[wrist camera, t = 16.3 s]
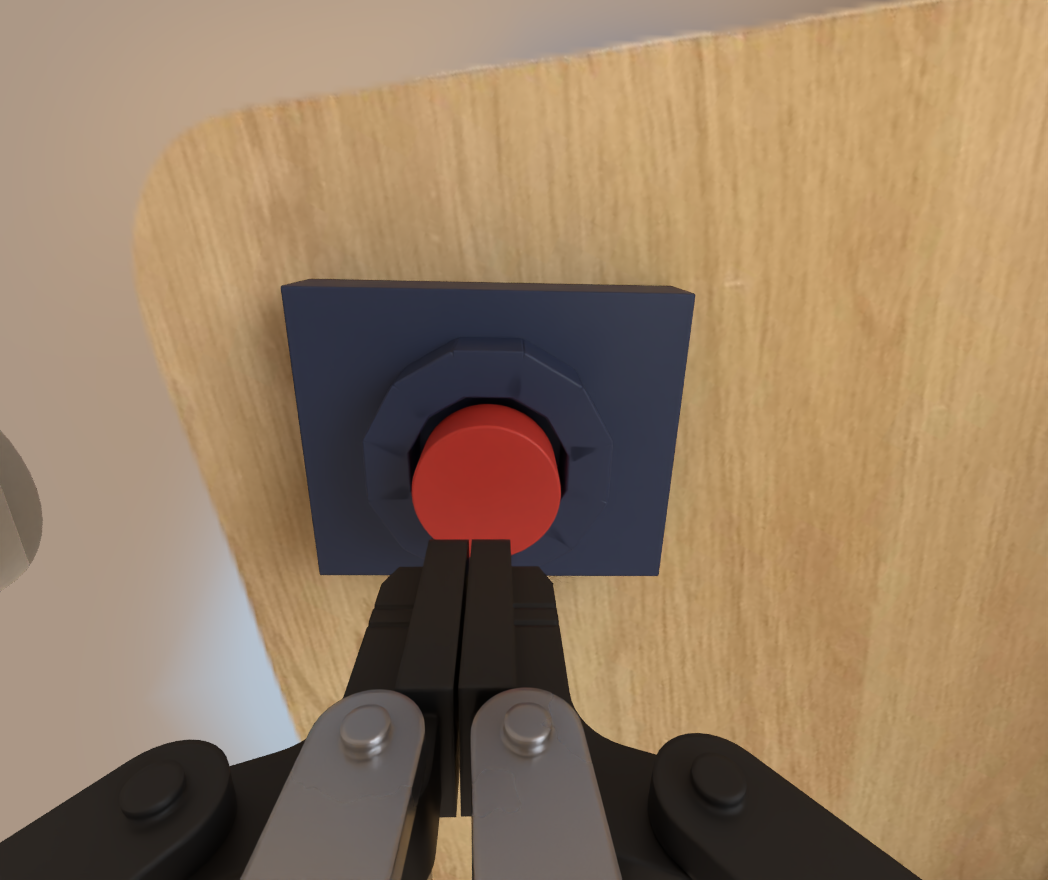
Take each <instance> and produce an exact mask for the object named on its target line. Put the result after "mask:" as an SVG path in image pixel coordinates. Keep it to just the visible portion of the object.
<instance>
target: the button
mask: <svg viewBox="0 0 1048 880" xmlns="http://www.w3.org/2000/svg"><path fill="white" fill-rule="evenodd" d="M560 498H561V486H560V480H559V475H558V470H557V465H556V460H555V455H554V451H553V448H552V445H551V443H550V440H549V438H548V437H547V435H546V434H545V432H544V431H543V429H542V428H541V427H540V426H539V425H538V424H537V423H536V422H535V421H534V420H533V419H531V418H530V417H529V416H527V415H526V414H524V413H522V412H520V411H518V410H516V409H513V408H510V407H507V406H503V405H497V404H478V405H473V406H469V407H465V408H462V409H460V410H458V411H456V412H454V413H452V414H450V415H449V416H447V417H446V418H445V419H443V420H442V421H441V422H440V423H439V424H438V425H437V426H436V427H435V428H434V430H433V431H432V433H431V434H430V436H429V438H428V440H427V442H426V444H425V446H424V449H423V451H422V454H421V456H420V459H419V461H418V464H417V467H416V469H415V472H414V476H413V481H412V501H413V506H414V509H415V512H416V514H417V517H418V519H419V521H420V522H421V524H422V526H423V527H424V529H425V530H426V531H427V532H428V533H429V535H430V536H431V537H432V538H434V539H469V557H470V553H471V542H472V539H510V542H511V555H513V554H516V553H518V552H521V551H523V550H525V549H526V548H528V547H530V546H531V545H533V544H534V543H535V542H537V541H538V540H539V539H540V538H541V537H542V536H543V535H544V534H545V533H546V531H547V530H548V529H549V528H550V526H551V524H552V523H553V521H554V519H555V517H556V515H557V512H558V509H559V505H560Z"/></svg>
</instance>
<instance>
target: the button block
mask: <svg viewBox="0 0 1048 880" xmlns="http://www.w3.org/2000/svg"><path fill="white" fill-rule="evenodd" d="M281 293H282V301H283V308H284V315H285V323H286V330H287V337H288V345H289V352H290V359H291V367H292V374H293V381H294V389H295V396H296V403H297V411H298V418H299V425H300V433H301V440H302V447H303V455H304V462H305V469H306V477H307V484H308V491H309V499H310V506H311V513H312V521H313V528H314V535H315V543H316V550H317V557H318V565H319V572H320V575H391V574H392V573H393V572H394V571H395V570H396V569H397V568H398V567H423V564H424V559H425V555H426V551H427V546H428V542H429V540H430V539H434V538H432V537H431V536H430V535H429V533H428V532H427V531H426V530H425V529H424V527H423V526H422V524H421V522H420V521H419V519H418V517H417V514H416V512H415V509H414V506H413V501H412V481H413V476H414V472H415V469H416V467H417V464H418V461H419V459H420V456H421V454H422V451H423V449H424V446H425V444H426V442H427V440H428V438H429V436H430V434H431V433H432V431H433V430H434V428H435V427H436V426H437V425H438V424H439V423H440V422H441V421H442V420H443V419H445V418H446V417H447V416H449V415H450V414H452V413H454V412H456V411H458V410H460V409H462V408H465V407H469V406H473V405H478V404H497V405H503V406H507V407H510V408H513V409H516V410H518V411H520V412H522V413H524V414H526V415H527V416H529V417H530V418H531V419H533V420H534V421H535V422H536V423H537V424H538V425H539V426H540V427H541V428H542V429H543V431H544V432H545V434H546V435H547V437H548V438H549V440H550V443H551V445H552V448H553V451H554V455H555V460H556V465H557V470H558V475H559V480H560V486H561V498H560V505H559V509H558V512H557V515H556V517H555V519H554V521H553V523H552V524H551V526H550V528H549V529H548V530H547V531H546V533H545V534H544V535H543V536H542V537H541V538H540V539H539V540H538V541H537V542H535V543H534V544H533V545H531V546H530V547H528V548H526V549H525V550H523V551H521V552H518V553H516V554H513V555H511V566H539V567H540V568H541V570H542V571H543V572H544V573H545V575H546V576H658V574H659V567H660V560H661V552H662V544H663V537H664V529H665V522H666V514H667V506H668V499H669V491H670V484H671V476H672V469H673V461H674V453H675V446H676V438H677V431H678V423H679V415H680V408H681V400H682V393H683V385H684V377H685V370H686V362H687V355H688V347H689V340H690V332H691V324H692V317H693V309H694V302H695V294H694V293H691V292H688V291H685V290H682V289H679V288H676V287H673V286H642V285H592V284H541V283H491V282H440V281H390V280H339V279H308V280H303V281H299V282H295V283H291V284H287V285H282V286H281ZM469 560H470V557H469Z"/></svg>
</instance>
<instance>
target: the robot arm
mask: <svg viewBox="0 0 1048 880" xmlns="http://www.w3.org/2000/svg"><path fill="white" fill-rule="evenodd" d="M459 772H460V793H461V816H472V880H922V879H920V878H919V877H918V876H916V875H915V874H914V873H912V872H911V871H910V870H908V869H907V868H905V867H904V866H903V865H901V864H900V863H899V862H897V861H896V860H895V859H893V858H892V857H891V856H889V855H888V854H886V853H885V852H884V851H882V850H881V849H880V848H878V847H877V846H876V845H874V844H873V843H871V842H870V841H869V840H867V839H866V838H865V837H863V836H862V835H861V834H859V833H858V832H857V831H855V830H854V829H852V828H851V827H850V826H848V825H847V824H846V823H844V822H843V821H842V820H840V819H839V818H837V817H836V816H835V815H833V814H832V813H831V812H829V811H828V810H827V809H825V808H824V807H823V806H821V805H820V804H818V803H817V802H816V801H814V800H813V799H812V798H810V797H809V796H808V795H806V794H805V793H803V792H802V791H801V790H799V789H798V788H797V787H795V786H794V785H793V784H791V783H790V782H789V781H787V780H786V779H784V778H783V777H782V776H780V775H779V774H778V773H776V772H775V771H774V770H772V769H771V768H769V767H768V766H767V765H765V764H764V763H763V762H761V761H760V760H759V759H757V758H756V757H755V756H753V755H752V754H750V753H749V752H748V751H746V750H745V749H743V748H742V747H740V746H738V745H737V744H735V743H733V742H731V741H729V740H726V739H724V738H721V737H718V736H714V735H710V734H702V733H691V734H684V735H680V736H677V737H675V738H673V739H671V740H670V741H668V742H667V743H665V744H664V745H663V747H662V748H661V749H660V750H659V752H658V754H657V755H655V754H652V753H648V752H645V751H641V750H638V749H634V748H631V747H627V746H624V745H621V744H618V743H615V742H613V741H611V740H609V739H607V738H605V737H603V736H601V735H600V734H598V733H597V732H595V731H594V730H593V729H591V728H590V727H589V726H588V725H587V724H586V723H585V722H584V721H583V720H582V719H581V717H580V716H579V714H578V713H577V711H576V710H575V708H574V706H573V703H572V701H571V697H570V692H569V686H568V679H567V673H566V666H565V660H564V653H563V647H562V640H561V634H560V627H559V621H558V614H557V608H556V601H555V595H554V588H553V583H552V582H551V581H550V579H549V578H548V577H547V576H546V575H545V573H544V572H543V571H542V570H541V568H540V567H539V566H511V542H510V539H472V542H471V553H470V560H469V539H430V540H429V542H428V546H427V551H426V555H425V559H424V564H423V567H398V568H397V569H396V570H395V571H394V572H393V573H392V574H391V575H390V576H389V577H388V578H387V579H386V580H385V581H384V582H383V583H382V584H381V587H380V590H379V593H378V596H377V599H376V602H375V608H374V609H373V611H372V614H371V617H370V620H369V626H368V627H367V629H366V632H365V635H364V638H363V641H362V644H361V647H360V650H359V653H358V656H357V659H356V662H355V665H354V668H353V670H352V673H351V676H350V679H349V682H348V685H347V688H346V691H345V694H344V697H343V699H342V700H340V701H338V702H336V703H335V704H333V705H332V706H331V707H329V708H328V709H327V710H326V711H325V712H324V713H323V714H322V715H321V716H320V717H319V718H318V719H317V721H316V722H315V723H314V725H313V727H312V728H311V730H310V732H309V734H308V736H307V738H306V739H305V740H304V741H302V742H300V743H298V744H296V745H294V746H292V747H290V748H287V749H285V750H282V751H279V752H276V753H273V754H269V755H266V756H262V757H259V758H256V759H252V760H249V761H246V762H243V763H239V764H236V765H232V766H229V763H228V760H227V757H226V756H225V754H224V752H223V751H222V750H221V749H220V748H218V747H217V746H216V745H214V744H211V743H209V742H206V741H201V740H182V741H175V742H171V743H167V744H164V745H161V746H158V747H156V748H153V749H150V750H148V751H146V752H144V753H142V754H140V755H138V756H136V757H135V758H133V759H131V760H129V761H128V762H126V763H125V764H123V765H121V766H120V767H118V768H117V769H115V770H114V771H112V772H110V773H109V774H107V775H106V776H104V777H103V778H101V779H100V780H98V781H97V782H95V783H93V784H92V785H90V786H89V787H87V788H85V789H84V790H82V791H81V792H79V793H78V794H76V795H75V796H73V797H71V798H70V799H68V800H67V801H65V802H64V803H62V804H60V805H59V806H57V807H56V808H54V809H52V810H51V811H50V812H48V813H46V814H45V815H43V816H41V817H40V818H38V819H37V820H35V821H34V822H32V823H30V824H29V825H27V826H26V827H25V828H23V829H21V830H20V831H18V832H16V833H15V834H13V835H12V836H10V837H9V838H7V839H5V840H4V841H2V842H1V843H0V880H432V868H433V865H434V860H435V855H436V846H437V836H438V827H439V817H456V812H457V799H458V785H459Z"/></svg>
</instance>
